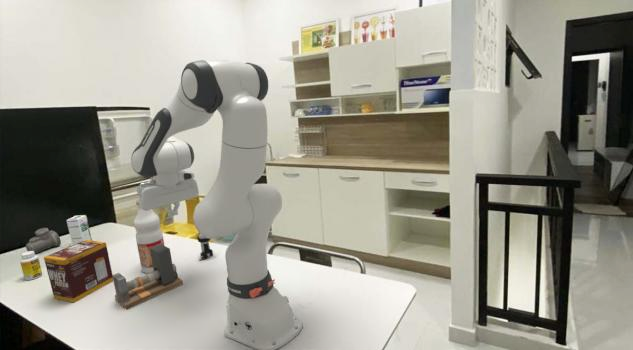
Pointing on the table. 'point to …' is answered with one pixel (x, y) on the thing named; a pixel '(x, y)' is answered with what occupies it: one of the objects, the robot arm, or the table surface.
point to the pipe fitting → (43, 240)
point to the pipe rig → (142, 288)
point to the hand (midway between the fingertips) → (173, 215)
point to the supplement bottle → (30, 265)
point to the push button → (204, 247)
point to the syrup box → (78, 229)
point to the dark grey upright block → (162, 263)
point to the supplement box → (79, 270)
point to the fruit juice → (147, 236)
